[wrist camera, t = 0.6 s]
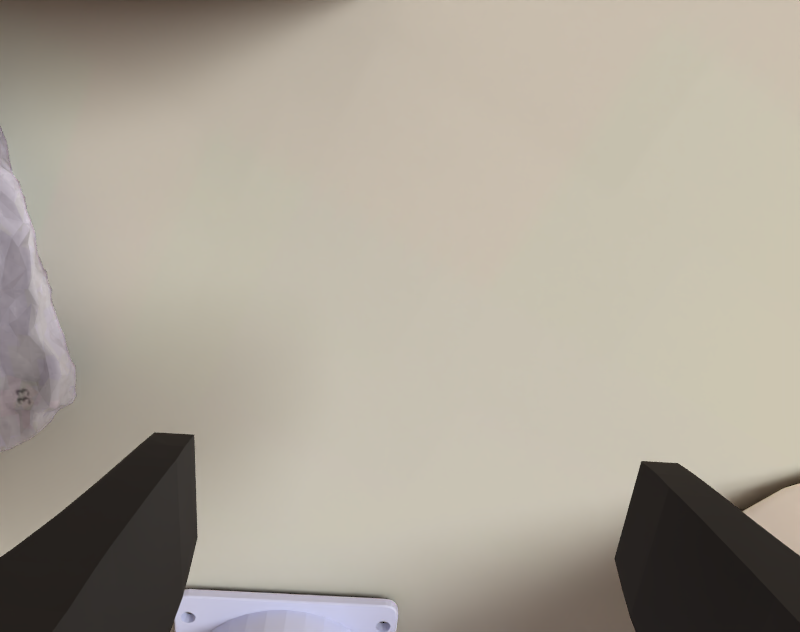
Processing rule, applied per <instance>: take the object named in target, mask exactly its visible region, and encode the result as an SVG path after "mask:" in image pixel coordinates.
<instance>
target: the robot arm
mask: <svg viewBox="0 0 800 632" xmlns="http://www.w3.org/2000/svg"><path fill="white" fill-rule="evenodd" d="M196 541H197V511H196V479H195V447H194V435H189V434H172V433H154V434H152V435H151V436H150V437H149V438H147V439H146V440H145V441H144V442H143V443H141V444H140V445H139V446H138V447H137V448H136V449H134V450H133V451H132V452H131V453H130V454H129V455H128V456H126V457H125V458H124V459H123V460H122V461H121V462H120V463H118V464H117V465H116V466H115V467H114V468H113V469H112V470H110V471H109V472H108V473H107V474H106V475H105V476H104V477H102V478H101V479H100V480H99V481H98V482H97V483H95V484H94V485H93V486H92V487H91V488H89V489H88V490H87V491H86V492H85V493H83V494H82V495H81V496H80V497H79V498H77V499H76V500H75V501H74V502H72V503H71V504H70V505H69V506H68V507H66V508H65V509H64V510H63V511H62V512H60V513H59V514H58V515H57V516H55V517H54V518H53V519H51V520H50V521H49V522H47V523H46V524H45V525H44V526H42V527H41V528H40V529H38V530H37V531H36V532H34V533H33V534H32V535H30V536H29V537H28V538H26V539H25V540H24V541H22V542H21V543H20V544H18V545H17V546H16V547H14V548H13V549H12V550H10V551H9V552H7V553H6V554H4V555H3V556H2V557H0V632H170V630H171V628H172V625H173V622H174V623H175V632H396V629H397V621H398V606H397V604H396V603H395V602H394V601H392V600H389V599H381V598H360V597H340V596H320V595H300V594H279V593H259V592H239V591H218V590H198V589H186V590H185V586H186V582H187V579H188V575H189V571H190V566H191V562H192V558H193V554H194V550H195V545H196ZM615 562H616V566H617V570H618V574H619V578H620V582H621V586H622V590H623V594H624V597H625V601H626V604H627V608H628V611H629V615H630V618H631V620H632V623H633V626H634V628H635V631H636V632H800V555H798V554H797V553H795V552H794V551H793V550H791V549H790V548H789V547H788V546H786V545H785V544H784V543H782V542H781V541H780V540H778V539H777V538H776V537H774V536H773V535H772V534H770V533H769V532H768V531H767V530H765V529H764V528H763V527H761V526H760V525H759V524H757V523H756V522H755V521H754V520H752V519H751V518H750V517H749V516H747V515H746V514H745V513H743V512H742V511H741V510H740V509H738V508H737V507H736V506H734V505H733V504H732V503H731V502H729V501H728V500H727V499H726V498H724V497H723V496H722V495H720V494H719V493H718V492H717V491H715V490H714V489H713V488H711V487H710V486H709V485H707V484H706V483H705V482H704V481H702V480H701V479H700V478H698V477H697V476H696V475H694V474H693V473H691V472H690V471H689V470H687V469H686V468H684V467H683V466H681V465H680V464H678V463H663V462H647V461H641V465H640V468H639V472H638V476H637V479H636V483H635V486H634V490H633V494H632V497H631V501H630V505H629V508H628V512H627V515H626V519H625V523H624V526H623V530H622V534H621V537H620V541H619V544H618V548H617V552H616V555H615ZM186 612H190V613H192V614H188V613H186ZM382 621H385V622H386V623H380V622H382Z"/></svg>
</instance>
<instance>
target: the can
mask: <svg viewBox="0 0 800 632" xmlns="http://www.w3.org/2000/svg"><path fill="white" fill-rule="evenodd" d="M742 512H743V513H745V514H746V515H747V516H749V517H750V518H751V519H752V520H754V521H755V522H756V523H757V524H759V525H760V526H761V527H763V528H764V529H765V530H767V531H768V532H769V533H770V534H772V535H773V536H774V537H776V538H777V539H778V540H780V541H781V542H782V543H784V544H785V545H786V546H788V547H789V548H790V549H791V550H793V551H794V552H795V553H797V554H798V555H800V483H799V484H795V485H792V486H789V487H785V488H783V489H781V490H779V491H778V492H776V493H774V494H772V495H770V496H769V497H767V498H765V499H763V500H762V501H760V502H758V503H756V504H754V505H753V506H751V507H749V508H747V509H746V510H744V511H742Z"/></svg>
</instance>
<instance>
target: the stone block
mask: <svg viewBox="0 0 800 632" xmlns="http://www.w3.org/2000/svg"><path fill="white" fill-rule="evenodd" d="M51 294H52V289H51V287H50V285H49V283H48V277H47V272H46V270H45V269H44V268H43V265H42V262H41V260H40V257H39V255H38V253H37V245H36V234H35V231H34V228H33V225H32V222H31V219H30V217H29V214H28V212H27V207H26V203H25V196H24V195H23V193H22V189H21V186H20V183H19V181H18V179H17V178H16V177H15V176H14V174H13V172H12V168H11V164H10V159H9V153H8V146H7V141H6V139H5V136H4V134H3V132H2V129H1V127H0V452H1V451H5V450H9V449H11V448H13V447H15V446H17V445H19V444H21V443H23V442H25V441H27V440H29V439H30V438H32V437H34V436H35V435H36V434H37V433H39V432H40V431H41V430H42V429H43V428H44V427H45V426H46V425H47V424H48V423H50V422H51V421H52V419H53V417H54V415H55V414H56V412H57V411H58V410H59V409H61V408H63V407H65V406H67V405H69V404H71V403H73V401H74V399H75V397H76V390H75V385H76V368H75V365H74V363H73V362H72V360H71V357H70V354H69V351H68V348H67V344H66V339H65V335H64V333H63V331H62V329H61V327H60V324H59V321H58V318H57V315H56V312H55V309H54V306H53V303H52V298H51Z"/></svg>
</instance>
